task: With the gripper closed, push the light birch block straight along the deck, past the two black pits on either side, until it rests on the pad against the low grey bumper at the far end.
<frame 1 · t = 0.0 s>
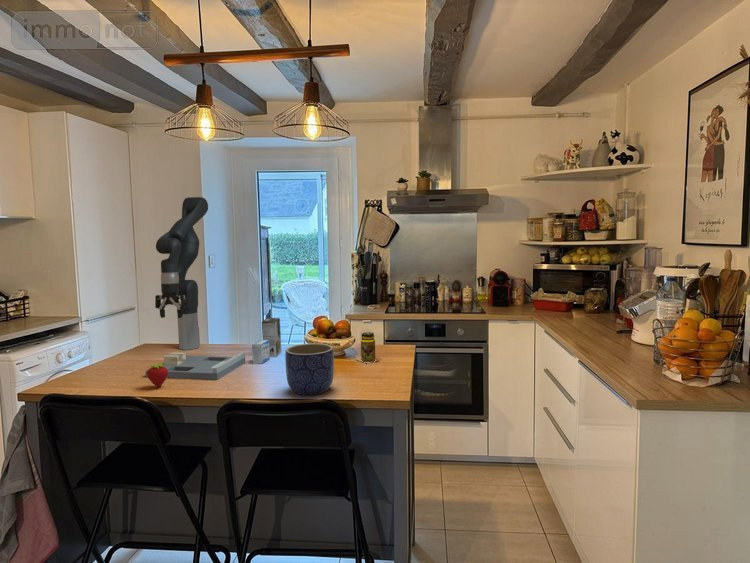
hand: (171, 317, 221), 17 cm above the countertop, tool pointing down, fingers open, 8 cm apart
condiment: (367, 361, 207), on the countertop
planter: (310, 390, 169), on the countertop
coffee box: (272, 355, 220), on the countertop
strawberry: (158, 387, 175), on the countertop
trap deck: (197, 369, 197), on the countertop
medicine box: (261, 362, 208), on the countertop
birch block: (175, 362, 199), point 2 cm above the countertop, touching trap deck
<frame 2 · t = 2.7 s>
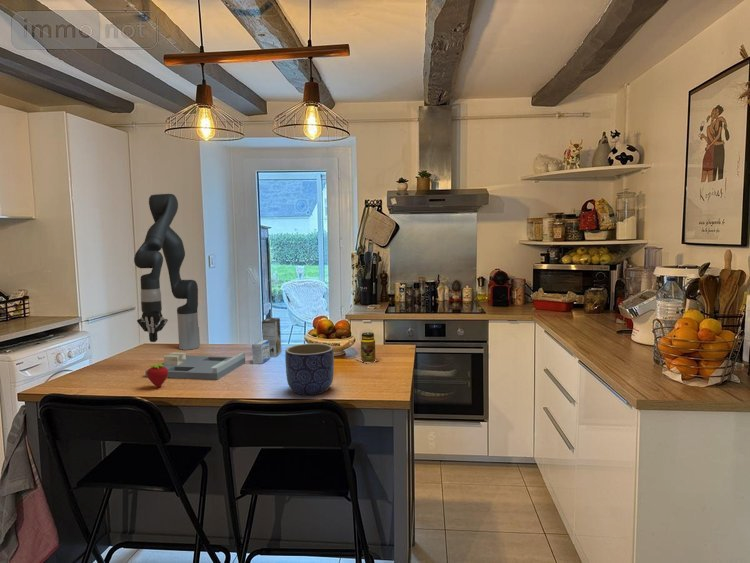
hand: (153, 341, 199), 11 cm above the countertop, tool pointing down, fingers closed
nothing on the countertop moved.
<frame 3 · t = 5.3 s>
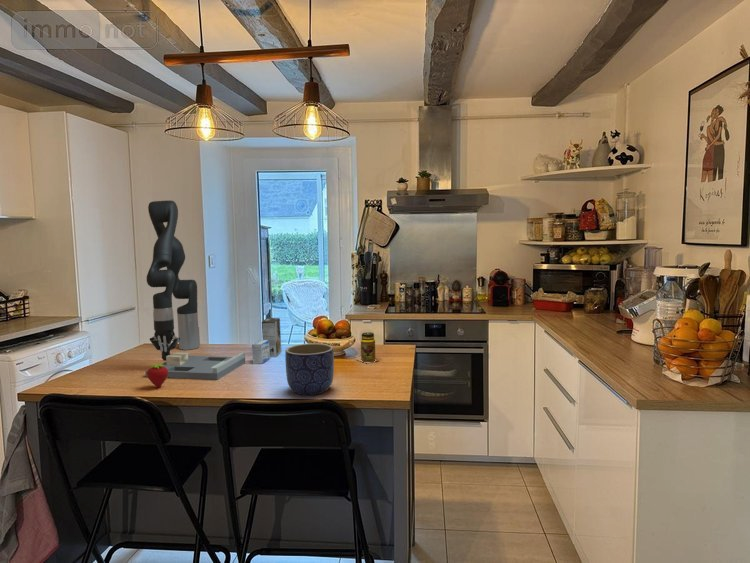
hand: (166, 360, 199), 4 cm above the countertop, tool pointing down, fingers closed
birch block: (177, 363, 199), point 3 cm above the countertop, touching gripper
everything else where it was.
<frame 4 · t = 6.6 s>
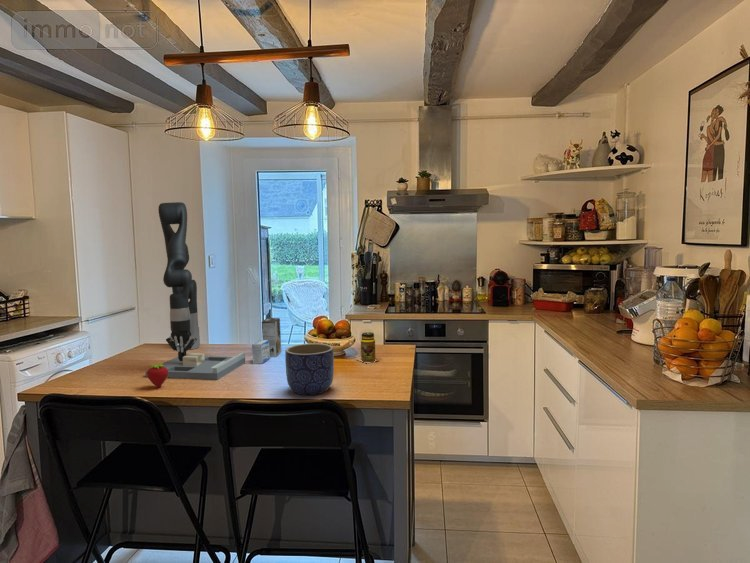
hand: (182, 360, 198), 4 cm above the countertop, tool pointing down, fingers closed
birch block: (194, 363, 197), point 3 cm above the countertop, touching gripper, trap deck
everything else where it was.
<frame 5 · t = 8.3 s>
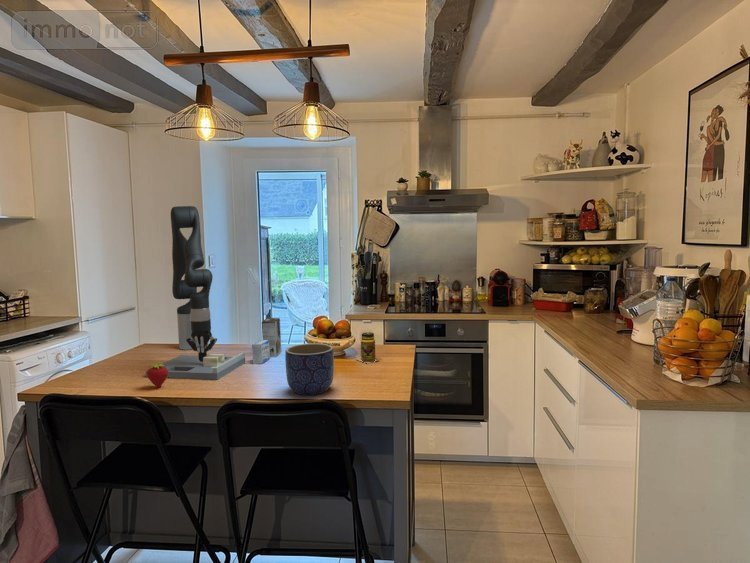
hand: (202, 361, 196), 4 cm above the countertop, tool pointing down, fingers closed
birch block: (214, 364, 195), point 3 cm above the countertop, touching gripper, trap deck
everything else where it was.
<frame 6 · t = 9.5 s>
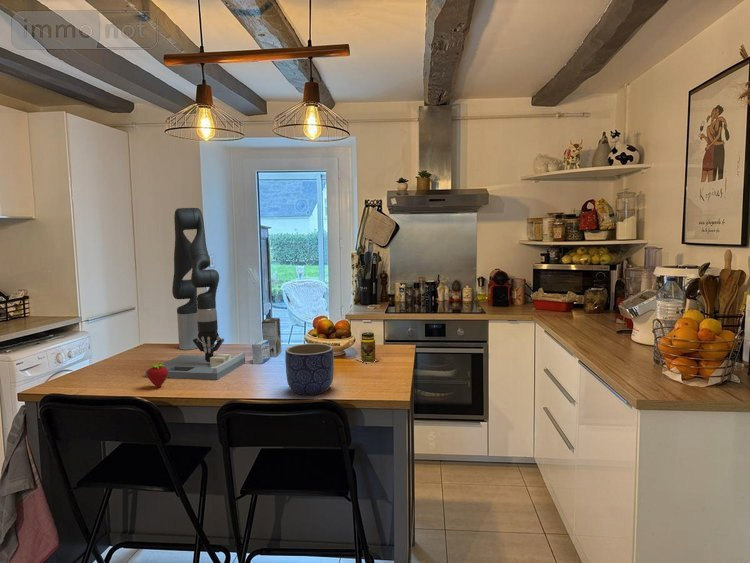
hand: (209, 361, 196), 4 cm above the countertop, tool pointing down, fingers closed
birch block: (221, 364, 195), point 2 cm above the countertop, touching gripper, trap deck
everything else where it was.
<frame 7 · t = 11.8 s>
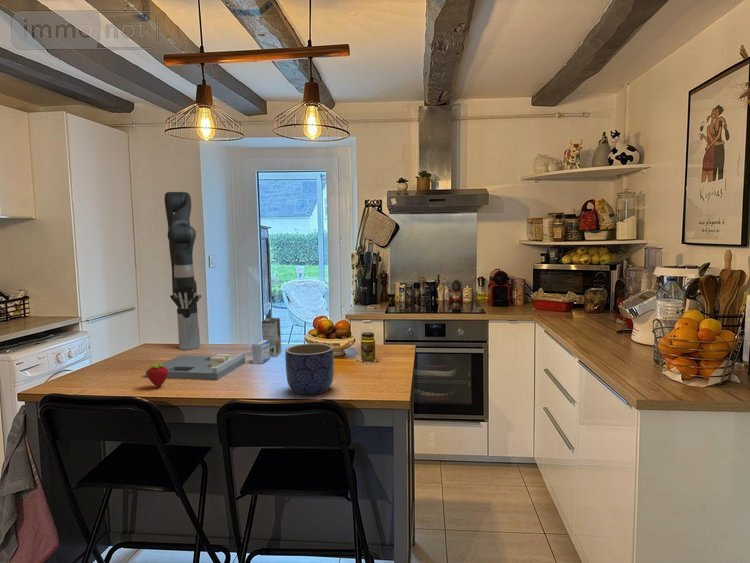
hand: (186, 317, 199), 21 cm above the countertop, tool pointing down, fingers closed
birch block: (221, 364, 195), point 2 cm above the countertop, touching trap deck
everything else where it was.
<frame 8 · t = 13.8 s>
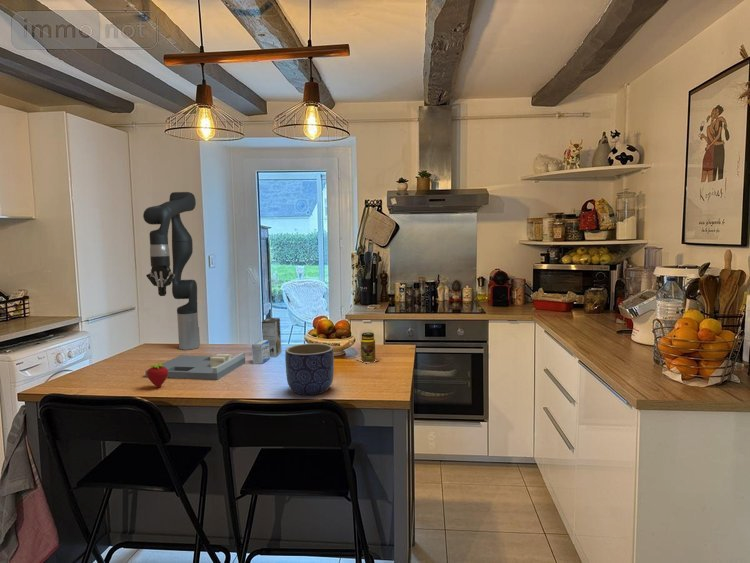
hand: (162, 295, 207), 29 cm above the countertop, tool pointing down, fingers closed
nothing on the countertop moved.
at the end: birch block 1.0 cm from the target spot on the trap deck, point 2.5 cm above the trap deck's base; birch block tilted 0° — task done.
